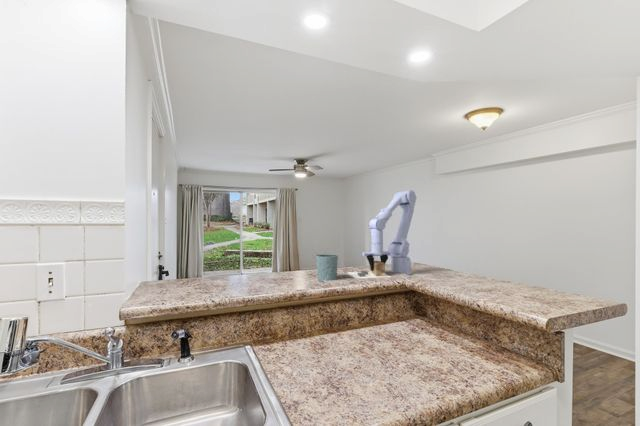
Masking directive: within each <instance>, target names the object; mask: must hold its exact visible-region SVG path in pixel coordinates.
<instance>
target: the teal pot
mask: <svg viewBox="0 0 640 426" xmlns="http://www.w3.org/2000/svg"><path fill="white" fill-rule="evenodd" d="M315 260H316V261H315V262H316V269H317V281H318V283H321V282H322V284H325V281H326V282H327V281H336V280H337V279H338V261H339V255H338V254H335V253H325V254H324V253H322V254H316V255H315Z"/></svg>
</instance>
